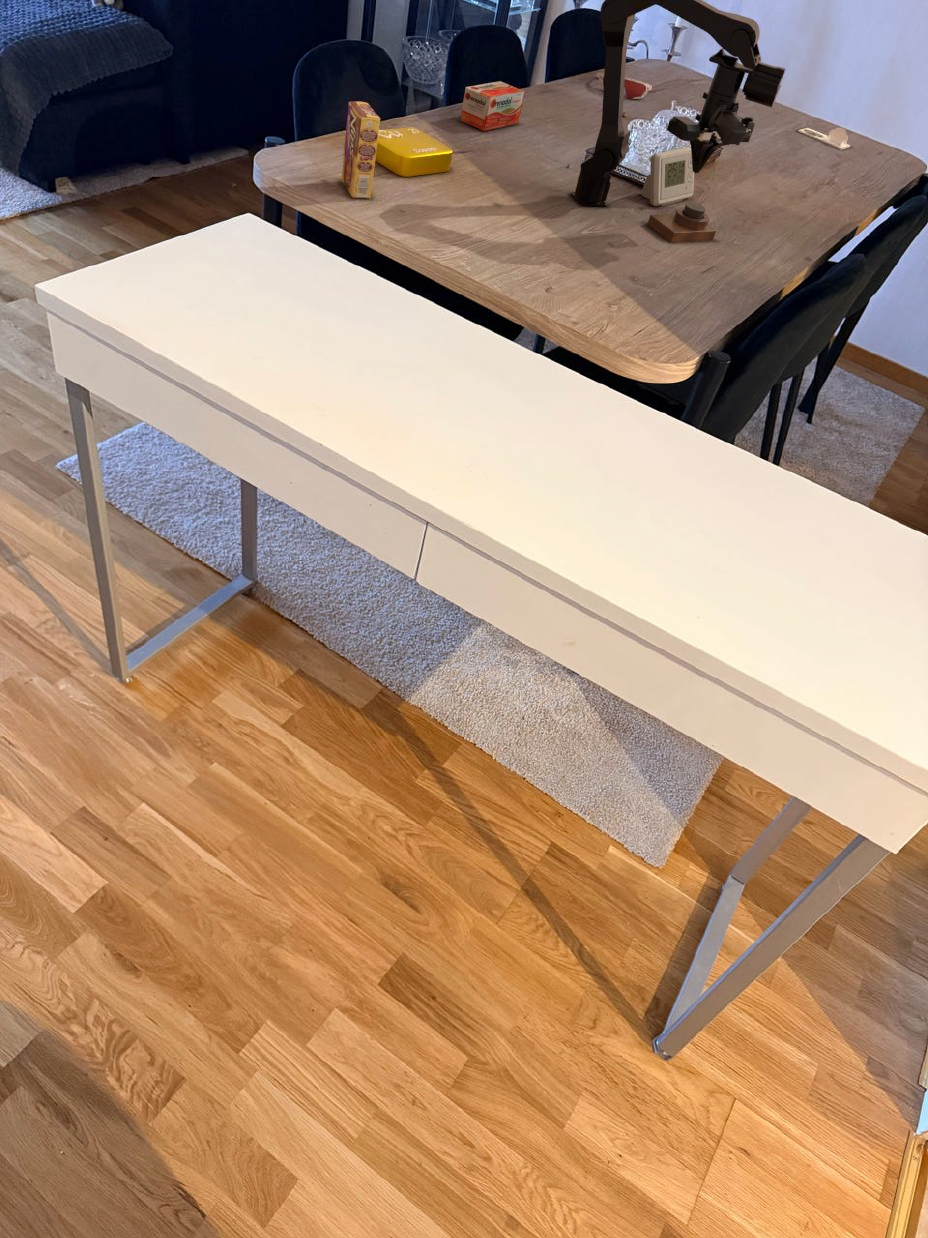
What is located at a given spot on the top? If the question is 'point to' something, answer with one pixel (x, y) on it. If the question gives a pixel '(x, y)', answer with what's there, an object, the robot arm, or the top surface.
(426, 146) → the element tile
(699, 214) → the button
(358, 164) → the candy box
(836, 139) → the white stand
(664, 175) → the digital clock
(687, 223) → the button box
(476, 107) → the medicine box
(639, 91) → the sunglasses
